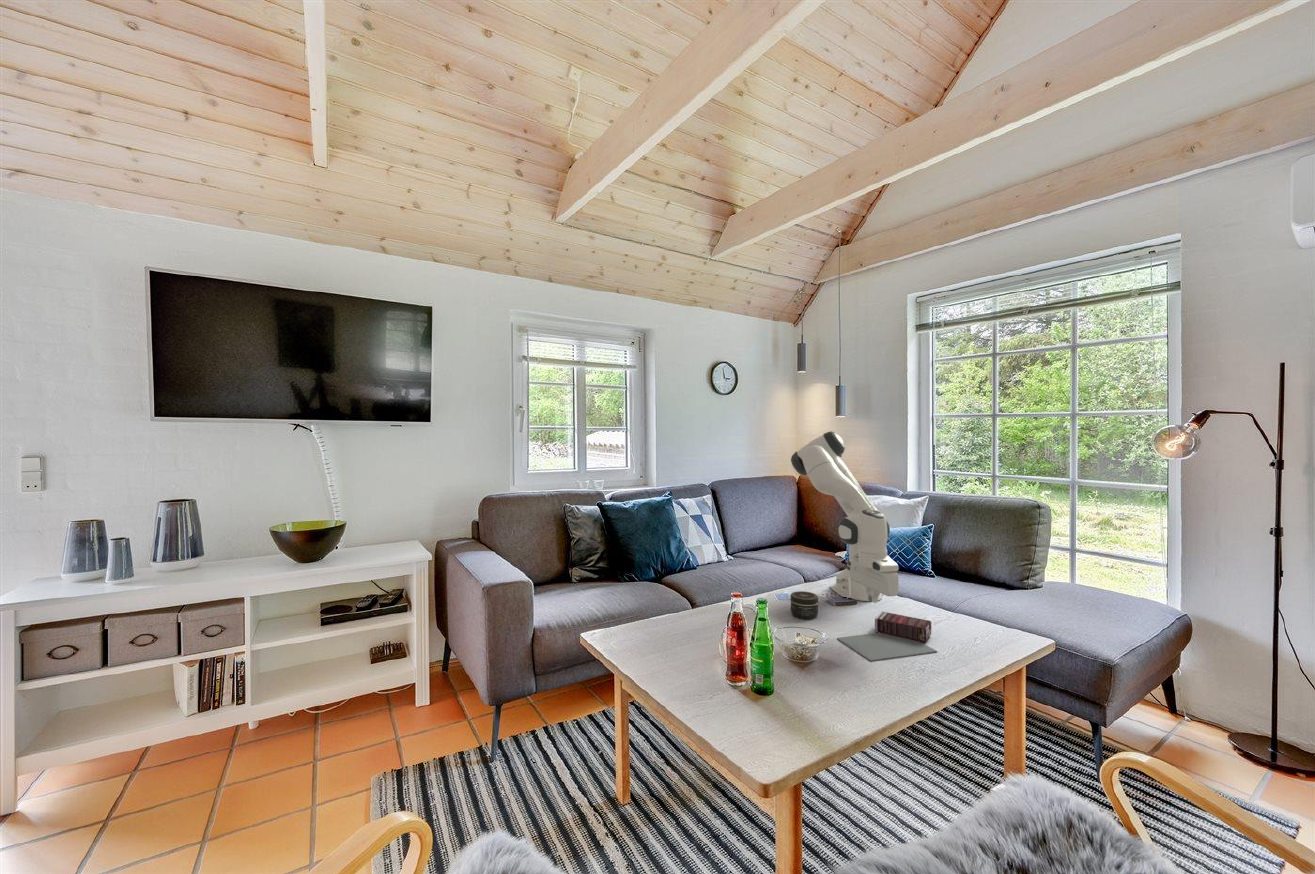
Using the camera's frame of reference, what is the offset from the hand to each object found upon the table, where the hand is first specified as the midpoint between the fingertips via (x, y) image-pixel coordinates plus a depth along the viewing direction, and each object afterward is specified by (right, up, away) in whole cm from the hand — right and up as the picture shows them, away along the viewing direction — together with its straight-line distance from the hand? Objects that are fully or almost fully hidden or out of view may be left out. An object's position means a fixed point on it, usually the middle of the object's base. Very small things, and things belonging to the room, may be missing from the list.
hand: (872, 601), depth 173 cm
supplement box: (+5, -9, +8) cm, 13 cm away
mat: (+2, -12, -6) cm, 14 cm away
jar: (-17, -12, +21) cm, 29 cm away
